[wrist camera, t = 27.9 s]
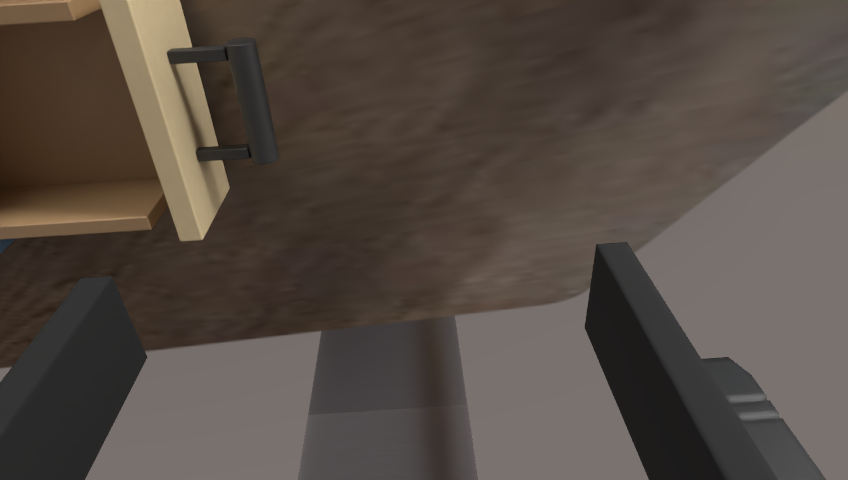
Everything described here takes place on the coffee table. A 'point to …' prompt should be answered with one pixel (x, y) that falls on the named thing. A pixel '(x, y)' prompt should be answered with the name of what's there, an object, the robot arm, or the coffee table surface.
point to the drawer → (115, 118)
